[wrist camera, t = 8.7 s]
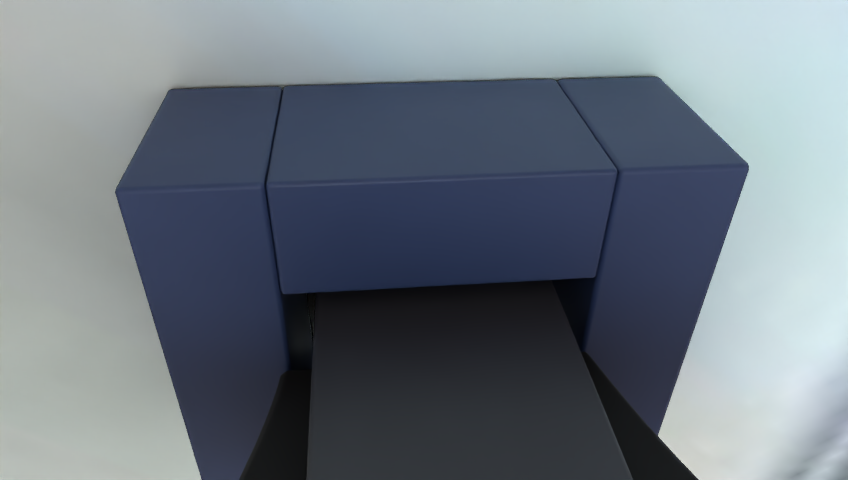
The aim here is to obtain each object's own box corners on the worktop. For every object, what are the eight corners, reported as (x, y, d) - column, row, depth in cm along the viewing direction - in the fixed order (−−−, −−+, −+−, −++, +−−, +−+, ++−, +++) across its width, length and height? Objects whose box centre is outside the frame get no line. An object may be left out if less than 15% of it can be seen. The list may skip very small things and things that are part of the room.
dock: (242, 421, 17) (222, 553, 14) (168, 87, 12) (111, 190, 9) (584, 397, 18) (631, 517, 15) (659, 74, 12) (752, 164, 10)
